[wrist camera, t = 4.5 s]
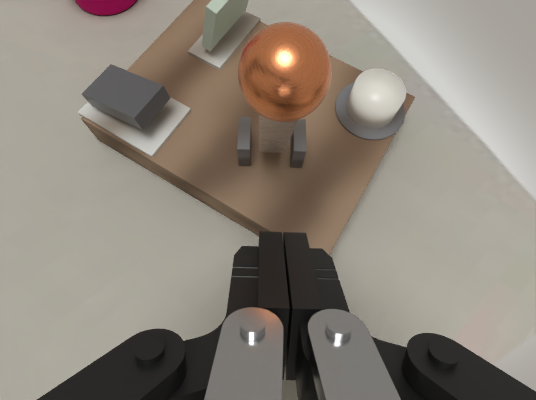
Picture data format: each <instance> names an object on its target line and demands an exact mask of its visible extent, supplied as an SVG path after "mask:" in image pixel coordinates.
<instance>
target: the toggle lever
mask: <svg viewBox="0 0 536 400" xmlns="http://www.w3.org/2000/svg"><path fill="white" fill-rule="evenodd" d="M331 75H332V67H331V60H330V57H329V53H328V51H327V49H326V47H325V45H324V43H323V42H322V40H321V39H320V38H319V37H318V36H317V35H316V34H315V33H314V32H312V31H311V30H310V29H308V28H306V27H304V26H302V25H299V24H296V23H290V22H281V23H275V24H272V25H269V26H267V27H264V28H263V29H261V30H260V31H258V32H257V33H256V34H255V35H254V36H253V37H252V38H251V39H250V40H249V41H248V43H247V44H246V46H245V47H244V49H243V52H242V54H241V57H240V60H239V65H238V80H239V86H240V89H241V92H242V94H243V96H244V98H245V100H246V101H247V103H248V104H249V105H250V107H251V108H252V109H253V110H254V111H256V112H257V113H258V114H259V153H283V152H284V150H285V148H286V146H287V144H288V142H289V140H290V138H291V136H292V134H293V132H294V129H295V127H296V125H297V123H298V121H299V119H301V118H303V117H306V116H307V115H309V114H310V113H312V112H313V111H314V110H315V109H316V108H317V107H318V106H319V105H320V104H321V102H322V101H323V100H324V98H325V96H326V94H327V92H328V89H329V86H330V82H331Z"/></svg>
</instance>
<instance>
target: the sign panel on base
mask: <svg viewBox="0 0 536 400" xmlns="http://www.w3.org/2000/svg"><path fill="white" fill-rule="evenodd" d="M247 3H248V0H211V1H210V3H209V4H208V5H207V6H206V11H205V20H204V28H203V37H202V46H203V47H205V48H206V49H208V50H209V51H211V50H212V49H213V48H214V47H215V46H216V44H217V43H218V42H219V41H220V40H221V39H222V37H223V36H224V35H225V34H226V33H227V32H228V30H229V29H230V28H231V27H232V26H233V25H234V24H235V22H236V21H237V20H238V19H239V18H240V17H241V15H242V14H243V13H244V12H245V11H246V7H247Z"/></svg>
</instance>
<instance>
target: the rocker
mask: <svg viewBox="0 0 536 400" xmlns="http://www.w3.org/2000/svg"><path fill="white" fill-rule="evenodd" d="M82 95H83V96H84V97H85V99H86V100H87V101H88V102H89V103H90V104H91V106H93V107H95V108H97V109H99V110H101V111H103V112H105V113H107V114H110V115H112V116H114V117H116V118H118V119H120V120H122V121H124V122H126V123H129V124H131V125H133V126H135V127H137V128H139V129H141V130H144V128H145V127H146V126H147V125H148V124H149V123H150V122H151V120H152V119H153V118H154V117H155V116H156V115H157V113H158V112H159V111H160V110H161V109H162V108H163V106H164V105H165V104H166V103H167V102H168V101H169V99H170V96H169V95H168V93H167V91H166V89H165V87H164V86H163V85H161V84H159V83H156V82H154V81H151V80H149V79H146V78H144V77H141V76H139V75H136V74H134V73H131V72H129V71H126V70H124V69H121V68H119V67H116V66H114V65H110V66H109V67H108V68H107V69H106V70H105V71H104V72H103V73H102V74H101V75H100V76H99V77H98V78H97V79H96V80H95V81H94V82H93V83H92V84H91V85H90V86H89V87H88V88H87V89H86V90H85V91H84V92H83V93H82Z"/></svg>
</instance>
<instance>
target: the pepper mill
mask: <svg viewBox="0 0 536 400" xmlns="http://www.w3.org/2000/svg"><path fill="white" fill-rule="evenodd" d="M75 1H76V3H77V4H78V5H79V6H80V7H81V8H82V9H83V10H85V11H87V12H89V13H92V14H96V15H113V14H117V13H120V12H122V11H124V10H127V9H128V8H129V7H131V6H132V5H133V4H134V3H135V2H136V1H137V0H75Z"/></svg>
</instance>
